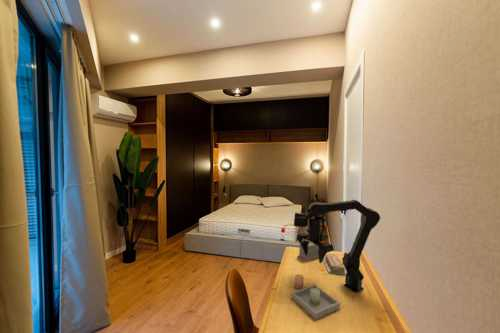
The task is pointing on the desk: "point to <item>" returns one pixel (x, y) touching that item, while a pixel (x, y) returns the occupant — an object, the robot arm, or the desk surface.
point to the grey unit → (309, 253)
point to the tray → (315, 311)
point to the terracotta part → (299, 281)
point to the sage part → (314, 296)
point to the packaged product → (334, 265)
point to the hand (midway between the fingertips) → (313, 258)
